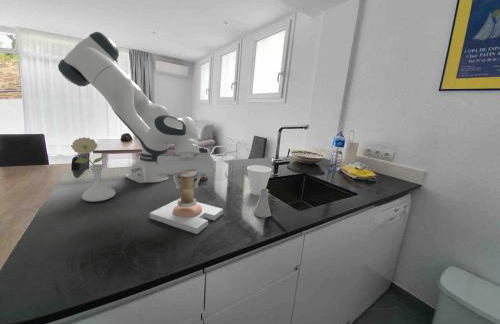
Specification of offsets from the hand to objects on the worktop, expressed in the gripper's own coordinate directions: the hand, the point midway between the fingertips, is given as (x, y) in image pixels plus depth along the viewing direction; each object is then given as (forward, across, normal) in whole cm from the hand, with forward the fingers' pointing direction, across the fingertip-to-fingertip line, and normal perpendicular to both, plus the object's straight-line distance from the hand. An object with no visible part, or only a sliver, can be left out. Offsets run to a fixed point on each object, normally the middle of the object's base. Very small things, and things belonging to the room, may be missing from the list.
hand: (187, 187), depth 76 cm
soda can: (-23, +9, +40) cm, 47 cm away
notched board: (+8, 0, +9) cm, 11 cm away
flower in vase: (-7, -35, +23) cm, 42 cm away
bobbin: (+4, 0, +5) cm, 6 cm away
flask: (+10, +28, +7) cm, 31 cm away
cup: (-6, +33, +22) cm, 41 cm away
